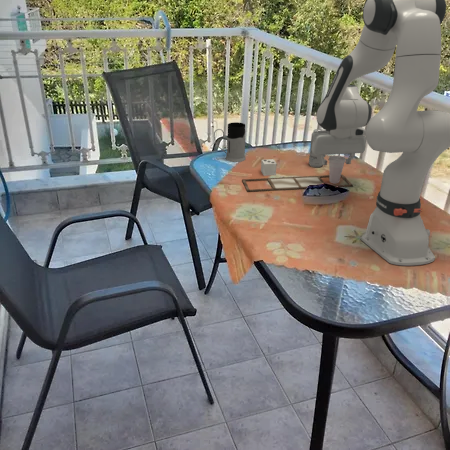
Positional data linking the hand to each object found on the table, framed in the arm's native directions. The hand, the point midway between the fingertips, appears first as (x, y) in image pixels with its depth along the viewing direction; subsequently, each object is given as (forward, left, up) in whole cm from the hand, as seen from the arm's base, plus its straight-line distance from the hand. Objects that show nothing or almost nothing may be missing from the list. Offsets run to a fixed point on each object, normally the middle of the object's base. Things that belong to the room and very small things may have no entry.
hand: (336, 164), depth 179 cm
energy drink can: (+18, +1, -7) cm, 19 cm away
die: (+12, +23, -7) cm, 27 cm away
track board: (0, +15, -7) cm, 17 cm away
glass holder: (+30, +36, -7) cm, 48 cm away
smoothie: (0, 0, -7) cm, 7 cm away
